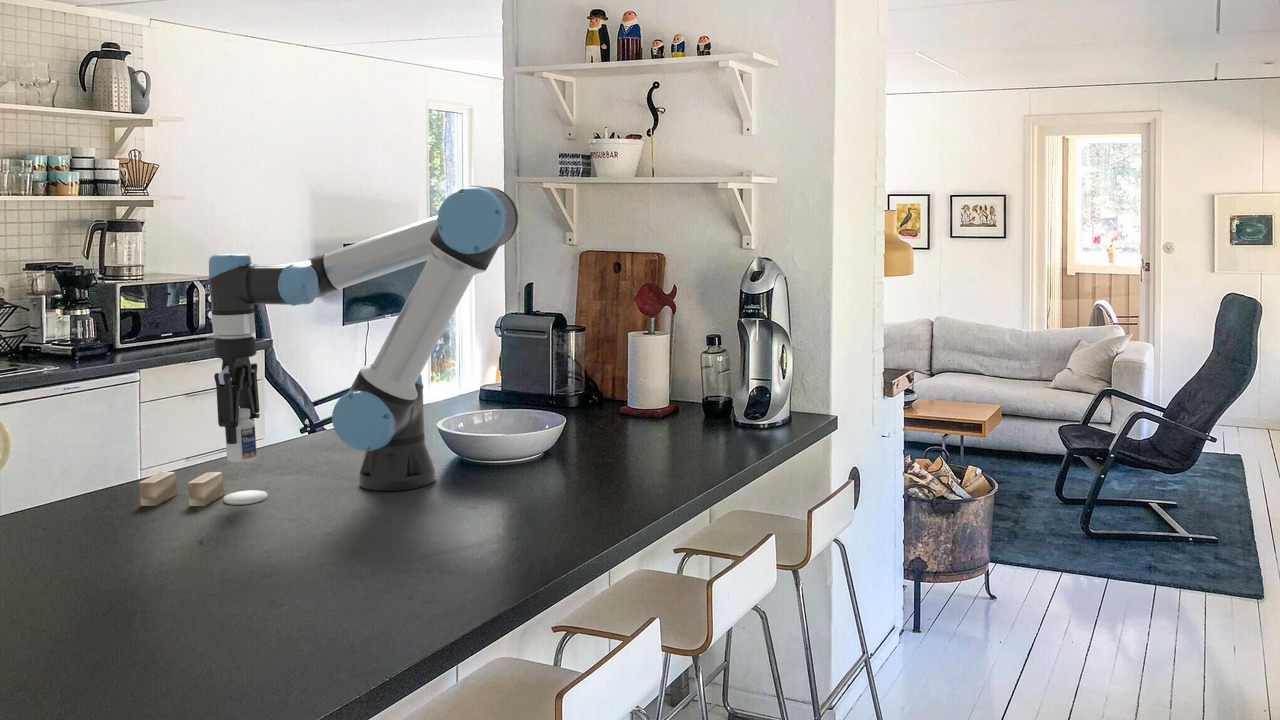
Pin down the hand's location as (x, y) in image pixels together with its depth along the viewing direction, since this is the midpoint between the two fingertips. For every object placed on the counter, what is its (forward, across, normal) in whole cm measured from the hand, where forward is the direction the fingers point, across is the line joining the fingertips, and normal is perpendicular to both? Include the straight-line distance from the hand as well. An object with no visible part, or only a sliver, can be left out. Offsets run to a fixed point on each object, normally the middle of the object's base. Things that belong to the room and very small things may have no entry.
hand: (242, 455), depth 206 cm
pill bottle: (+1, 0, 0) cm, 1 cm away
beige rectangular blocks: (+9, +1, -12) cm, 15 cm away
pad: (+9, 0, 0) cm, 9 cm away
